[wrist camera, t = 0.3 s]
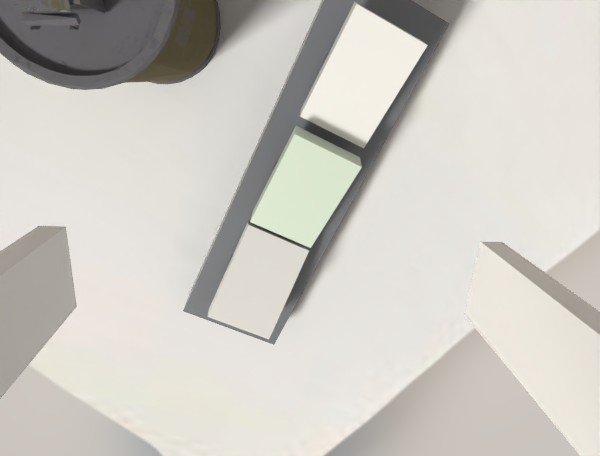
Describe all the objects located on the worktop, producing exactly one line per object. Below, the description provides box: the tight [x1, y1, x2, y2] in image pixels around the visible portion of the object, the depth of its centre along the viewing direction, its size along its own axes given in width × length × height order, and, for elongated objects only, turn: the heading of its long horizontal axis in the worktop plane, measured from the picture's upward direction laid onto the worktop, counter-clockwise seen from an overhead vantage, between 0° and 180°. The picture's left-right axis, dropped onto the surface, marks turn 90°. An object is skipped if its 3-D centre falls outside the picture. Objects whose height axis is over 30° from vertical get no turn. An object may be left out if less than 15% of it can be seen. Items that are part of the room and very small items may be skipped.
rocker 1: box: [208, 222, 309, 339], centre depth 38 cm, size 6×9×2 cm, turn 154°
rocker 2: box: [300, 2, 428, 148], centre depth 33 cm, size 6×9×2 cm, turn 154°
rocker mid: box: [250, 126, 362, 248], centre depth 36 cm, size 6×9×2 cm, turn 154°
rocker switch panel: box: [183, 0, 449, 344], centre depth 39 cm, size 10×34×5 cm, turn 154°
